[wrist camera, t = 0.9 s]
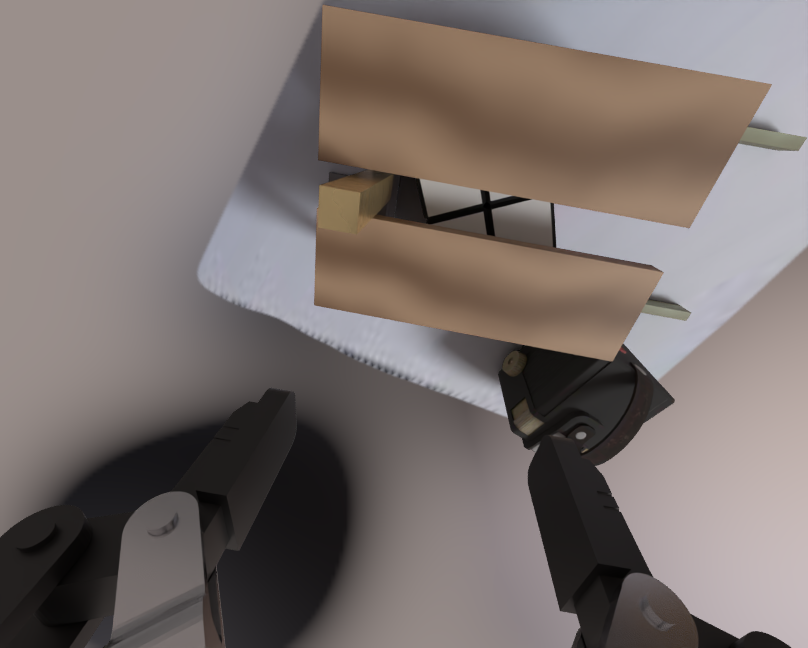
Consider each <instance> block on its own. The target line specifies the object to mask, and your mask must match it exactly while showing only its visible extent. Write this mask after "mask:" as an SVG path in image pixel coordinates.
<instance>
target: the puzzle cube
mask: <svg viewBox="0 0 808 648" xmlns="http://www.w3.org/2000/svg"><path fill="white" fill-rule="evenodd" d="M416 183H417V187H418V191H419V196H420V200H421V205H422V209H423V213H424V217H425V218H426V219H427V223H426V224H430V225H436V226H441V227H447V228H452V229H457V230H463V231H468V232H474V233H479V234H484V235H490V236H495V237H501V238H506V239H511V240H517V241H522V242H528V243H533V244H538V245H544V246H549V247H555V248H556V234H555V217H554V203H550V202H544V201H539V200H533V199H528V198H522V197H517V196H512V195H506V194H501V193H495V192H490V191H484V190H479V189H473V188H468V187H462V186H457V185H452V184H446V183H441V182H435V181H430V180H424V179H419V178H416Z"/></svg>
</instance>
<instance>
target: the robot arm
mask: <svg viewBox="0 0 808 648" xmlns="http://www.w3.org/2000/svg"><path fill="white" fill-rule="evenodd" d="M296 426H297V425H296V402H295V393H294V392H292V391H286V390H280V389H274V388H269V389H268V390H267V391H266V392H265V394H264V395H263V397H262V398H261V399H260V401H259V402H258V403H255V402H248V403H246V404H245V405H243V406H242V407H240V408H239V409H237V410H236V411H235V412H233V413H232V415H231V416H230V417H229V419H228V420H227V421H226V423H225V424H224V425H223V428H222V429H220V430H219V432H218V433H217V434H216V435H215V437H214V440H212V441H211V442H210V443H209V444H208V445H207V447H206V448H205V450H204V451H203V452H202V453H201V454H200V456H199V457H198V458H197V460H196V461H195V462H194V463H193V465H192V466H191V467H190V469H189V470H188V471H187V472H186V474H185V475H184V476H183V477H182V479H181V480H180V481H179V483H178V484H177V485H176V486H175V487H174V489H173V490H171V491H170V492H169V493H165V494H162V495H160V496H157V497H155V498H153V499H151V500H149V501H148V502H146V503H145V504H144V505H142V506H141V507H140V508H139V509H137V511H133V512H129V513H122V514H115V515H108V516H101V517H95V518H87V519H86V517H85V515H84V514H83V512H82V511H81V510H80V509H79V508H77V507H75V506H71V505H60V506H54V507H50V508H47V509H44V510H41V511H39V512H37V513H34V514H32V515H31V516H28V517H26V518H25V519H23V520H22V521H20V522H19V523H17V524H16V525H14V526H13V527H12V528H10V529H9V530H8V531H7V532H6V533H5V534H4V535H2V536H1V537H0V648H84V647H85V646H86V644H87V643H88V641H89V640H90V638H91V637H92V635H93V634H94V632H95V631H96V629H97V628H98V626H99V625H100V623H101V622H102V620H103V619H104V617H106V616H110V615H114V621H113V630H112V635H111V639H110V641H109V643H108V644H107V645H105V646H104V647H103V648H225V640H224V632H223V622H222V613H221V604H220V595H219V586H218V577H217V569H216V565H217V563H218V561H219V559H220V557H221V555H222V554H223V552H224V550H225V548H226V549H232V550H238V551H239V550H240V547H241V545H242V543H243V542H244V540H245V538H246V536H247V534H248V532H249V530H250V528H251V526H252V524H253V522H254V520H255V518H256V516H257V514H258V511H259V510H260V507H261V506H262V504H263V502H264V500H265V498H266V496H267V493H268V492H269V490H270V488H271V486H272V484H273V482H274V480H275V477H276V476H277V474H278V472H279V470H280V468H281V466H282V463H283V462H284V460H285V458H286V456H287V454H288V451H289V449H290V448H291V446H292V443H293V441H294V438H295V433H296ZM528 486H529V490H530V494H531V498H532V502H533V506H534V510H535V514H536V518H537V522H538V526H539V529H540V533H541V538H542V542H543V545H544V549H545V553H546V557H547V561H548V565H549V569H550V573H551V577H552V581H553V585H554V588H555V593H556V597H557V601H558V605H559V608H560V611H563V612H569V613H574V614H577V616H578V620H579V623H580V628H579V629H578V631H577V633H576V636H575V639H574V642H573V645H572V647H571V648H791V647H790V646H788V645H787V644H785V643H784V642H782V641H781V640H779V639H777V638H776V637H773V636H771V635H769V634H766V633H763V632H758V631H755V632H750V633H748V634H747V635H745V636H743V637H742V638H740V639H738V638H736V637H734V636H732V635H730V634H728V633H726V632H724V631H723V630H720V629H719V628H717V627H715V626H713V625H711V624H708V623H707V622H705V621H703V620H701V619H699V618H697V617H695V616H694V615H692V614H690V613H689V611H688V609H687V608H686V607H685V605H684V604H683V602H682V601H681V600H680V599H679V598H678V596H677V595H676V594H675V593H674V592H673V591H672V590H671V589H669V588H668V587H667V586H666V585H664V584H663V583H662V582H660V581H659V580H657V579H655V578H654V577H653V576H652V574H651V572H650V571H649V568H648V567H647V564H646V562H645V560H644V558H643V556H642V554H641V552H640V550H639V548H638V546H637V544H636V542H635V540H634V538H633V536H632V534H631V532H630V530H629V528H628V526H627V524H626V521H625V519H624V517H623V515H622V513H621V512H619V507H618V505H617V503H616V501H615V499H614V497H612V493H611V491H610V489H609V487H608V485H607V483H606V480H605V478H604V477H603V475H602V474H601V473H600V472H599V471H598V469H597V468H596V467H595V466H594V465H593V464H592V462H591V461H590V460H588V459H583V458H582V457H581V455H580V453H579V451H578V448H577V446H576V444H575V442H574V441H573V440H572V439H569V438H563V437H557V436H551V435H545V436H544V437H543V438H542V440H541V442H540V445H539V447H538V449H537V451H536V453H535V455H534V457H533V460H532V462H531V464H530V466H529V470H528Z"/></svg>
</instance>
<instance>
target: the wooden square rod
mask: <svg viewBox="0 0 808 648" xmlns="http://www.w3.org/2000/svg"><path fill="white" fill-rule="evenodd" d="M399 182H400V175H397V174H392V173H386V172H381V171H375V170H370V169H368V170H365V171H362V172H359V173H356V174H353V175H350V176H347V177H343V178H340V179H337V180H334V181H331V182H328V183H325V184H322V185H319V212H318V227H319V228H324V229H329V230H335V231H340V232H346V233H351V234H356V235H357V234H358V233H359V232H360V231H361V230H362V229H363V228H364V227H365V226H366V225H367V223H368V222H369V221H370V220H371V219H372V218H373V217H374V216H375V215H382V216H387V217H393V218H395V211H396V204H397V197H398V189H399Z"/></svg>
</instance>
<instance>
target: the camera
mask: <svg viewBox="0 0 808 648" xmlns="http://www.w3.org/2000/svg"><path fill="white" fill-rule="evenodd" d="M502 368H503V369H502V370H501V371H500V372H499V374H498V376H499V380H500V385H501V389H502V393H503V398H504V402H505V406H506V411H507V415H508V419H509V424H510V428H511V431H512V432H513V433H515V434H516V435H518V436H520V437H521V438H522V440H523V444H524V447H525V448H526V449H528V450H530V449H531V450H532V451H534V452H536V451H537V449H538V447H539V445H540V442H541V440H542V438H543V437H544V436H545V435H551V436H557V437H563V438H569V439H572V440H573V441H574V442H575V444H576V446H577V448H578V451H579V453H580V455H581V457H582V458H583V459H588V460H590V461H591V462H592V464H593V465H594V466H597V465H600V464H603V463H605V462H606V461H608V460H609V459H611V458H612V457H614V456H615V455H617V454H618V453H619V452H620V451H621V450H622V449H624V448H625V447H626V445H627V444H628V443H629V442H630V441H631V440H632V439H633V438H634V436H635V435H636V434H637V432H638V431H639V429H640V428H641V426H642V424H643V423H645V422H646V421H648V420H649V419H651V418H652V417H654V416H655V415H657V414H658V413H660V412H661V411H662V410H664V409H665V408H667V407H668V406H670V405H671V404H673V403H674V401H675V400H674V398H673V397H672V396H671V395H670V394H669V393H668V392H667V391H666V390H665V388H663V387H662V385H661V384H660V383H659V382H658V381H657V380H656V379H655V378H654V377H653V376H652V375H651V373H650V372H649V371H648V370H647V369H646V368H645V367H644V366H643V365H642V364H641V363H640V361H639V360H638V359H637V358H636V357H635V356H634V355H633V354H632V353H631V352H630V350H629V349H628V348H627V347H626V346H625V345H624V344H622V346H621V348H620V349H619V351H618V353H617V355H616V356H615V358H614V360H613V362H612V361H606V360H601V359H596V358H591V357H585V356H580V355H575V354H569V353H564V352H559V351H554V350H548V349H543V348H538V347H532V346H527V345H525V346H524V347H523V348H522V349H521V350H520V351H519V352H518V351H513V352H511V353H510V354H508V356H507V357H506V358H505V360H504V362H503V366H502Z"/></svg>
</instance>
